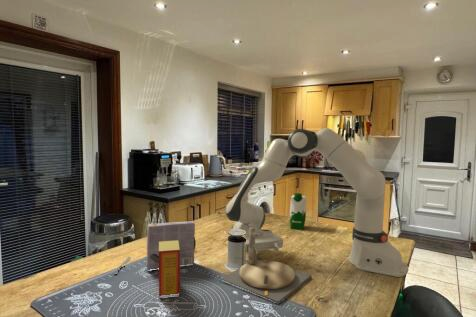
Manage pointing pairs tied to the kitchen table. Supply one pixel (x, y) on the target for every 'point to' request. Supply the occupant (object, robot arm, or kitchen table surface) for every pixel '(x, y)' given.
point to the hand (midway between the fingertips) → (267, 250)
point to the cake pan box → (169, 233)
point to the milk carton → (297, 211)
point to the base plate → (271, 294)
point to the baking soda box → (169, 267)
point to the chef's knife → (125, 261)
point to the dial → (265, 270)
